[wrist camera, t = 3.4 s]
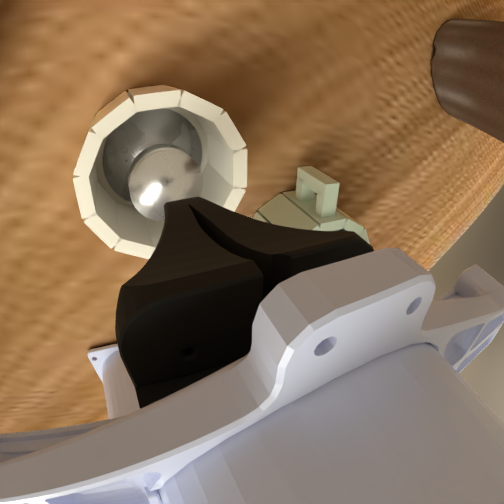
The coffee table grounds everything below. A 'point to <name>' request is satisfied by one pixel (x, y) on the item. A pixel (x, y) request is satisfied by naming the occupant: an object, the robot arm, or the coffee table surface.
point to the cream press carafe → (212, 166)
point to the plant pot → (471, 73)
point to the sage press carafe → (310, 206)
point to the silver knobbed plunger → (154, 161)
